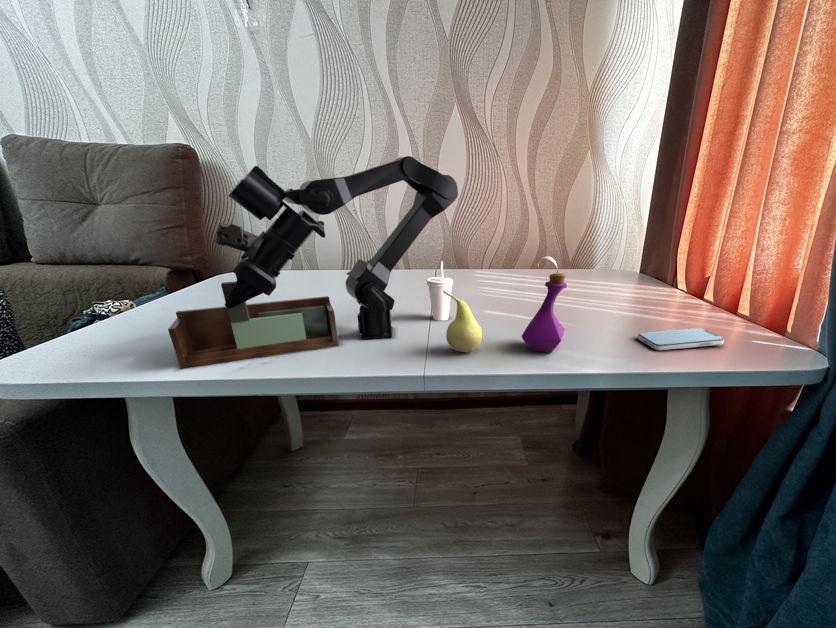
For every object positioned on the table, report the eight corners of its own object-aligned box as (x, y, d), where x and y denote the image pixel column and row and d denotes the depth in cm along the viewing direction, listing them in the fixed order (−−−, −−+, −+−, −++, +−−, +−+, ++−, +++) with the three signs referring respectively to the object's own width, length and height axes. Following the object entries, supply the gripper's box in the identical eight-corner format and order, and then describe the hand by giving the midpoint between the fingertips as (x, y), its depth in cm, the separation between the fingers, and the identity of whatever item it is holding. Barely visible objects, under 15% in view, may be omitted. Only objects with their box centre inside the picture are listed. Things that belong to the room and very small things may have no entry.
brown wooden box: (333, 333, 83) (328, 296, 80) (338, 345, 77) (333, 305, 73) (189, 353, 73) (176, 311, 70) (180, 369, 66) (165, 323, 63)
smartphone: (635, 332, 80) (700, 326, 82) (634, 339, 81) (698, 334, 83) (657, 345, 73) (727, 338, 75) (656, 353, 74) (725, 346, 76)
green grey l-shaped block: (306, 340, 76) (295, 276, 71) (307, 343, 75) (295, 278, 70) (238, 350, 72) (221, 282, 67) (238, 353, 70) (220, 284, 65)
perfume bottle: (563, 343, 78) (572, 254, 71) (559, 357, 71) (569, 260, 64) (527, 339, 80) (533, 252, 73) (520, 352, 73) (525, 258, 67)
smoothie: (450, 323, 90) (449, 263, 85) (424, 321, 91) (422, 262, 86) (456, 315, 96) (455, 259, 91) (432, 313, 97) (430, 258, 92)
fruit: (479, 359, 70) (480, 296, 66) (440, 356, 72) (438, 294, 67) (484, 346, 76) (485, 287, 72) (448, 343, 78) (447, 286, 73)
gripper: (244, 204, 71) (191, 267, 71) (234, 206, 55) (166, 288, 55) (296, 245, 77) (247, 303, 77) (301, 257, 61) (239, 331, 61)
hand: (227, 305), depth 67 cm, fingers closed on green grey l-shaped block, 2 cm apart
